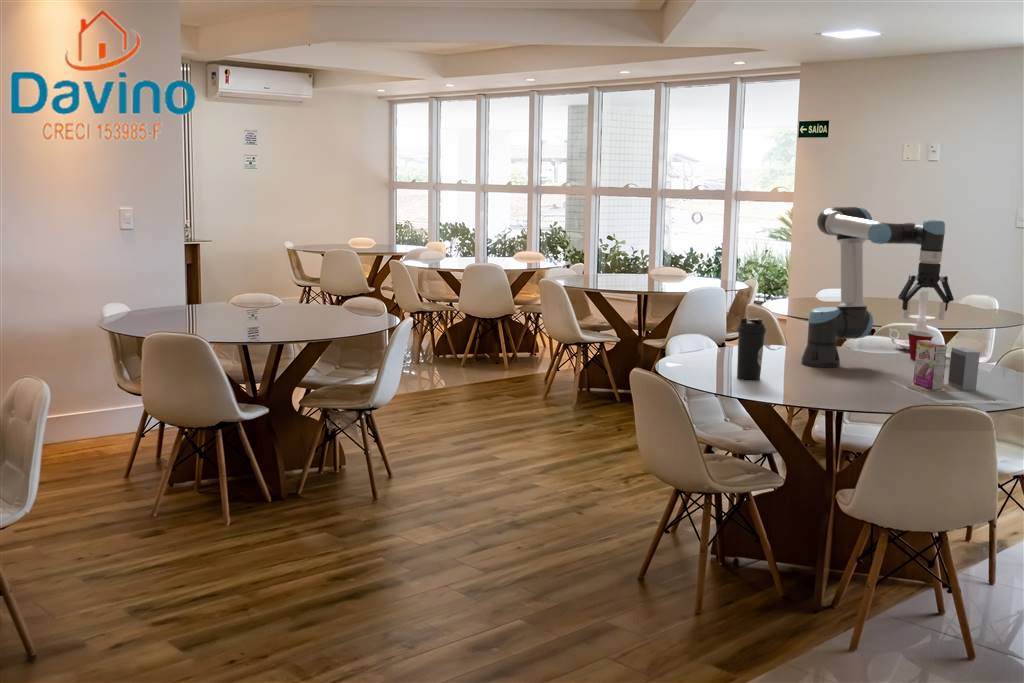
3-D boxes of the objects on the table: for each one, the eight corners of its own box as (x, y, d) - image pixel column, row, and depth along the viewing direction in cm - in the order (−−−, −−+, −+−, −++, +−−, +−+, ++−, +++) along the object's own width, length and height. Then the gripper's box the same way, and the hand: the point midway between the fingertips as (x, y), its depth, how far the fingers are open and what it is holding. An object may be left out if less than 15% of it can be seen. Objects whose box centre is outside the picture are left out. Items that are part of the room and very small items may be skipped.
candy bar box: (912, 383, 368) (916, 340, 365) (923, 383, 369) (927, 339, 366) (931, 390, 357) (935, 345, 354) (943, 389, 358) (947, 344, 356)
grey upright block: (961, 390, 359) (965, 352, 357) (947, 384, 369) (950, 347, 367) (975, 390, 360) (979, 352, 357) (961, 384, 369) (964, 347, 367)
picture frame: (923, 393, 356) (923, 390, 356) (906, 386, 369) (906, 383, 369) (979, 394, 358) (979, 390, 358) (959, 386, 371) (960, 383, 371)
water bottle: (760, 382, 370) (764, 320, 366) (732, 379, 373) (736, 319, 369) (763, 377, 379) (767, 317, 375) (736, 375, 382) (740, 315, 379)
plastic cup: (929, 363, 421) (932, 335, 419) (902, 360, 426) (905, 332, 424) (933, 359, 430) (936, 332, 428) (906, 356, 435) (909, 329, 433)
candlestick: (894, 344, 469) (900, 285, 465) (949, 351, 453) (955, 290, 449) (878, 349, 454) (883, 288, 449) (934, 356, 438) (940, 293, 433)
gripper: (902, 262, 362) (895, 320, 366) (967, 264, 364) (960, 321, 368) (892, 260, 369) (886, 316, 373) (957, 262, 371) (950, 318, 375)
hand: (923, 319), depth 371 cm, fingers open, 13 cm apart
